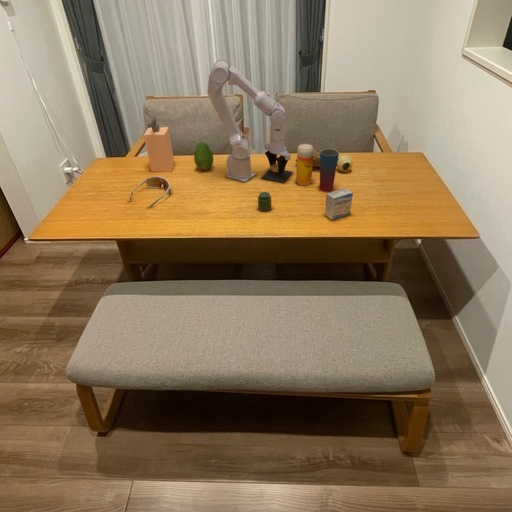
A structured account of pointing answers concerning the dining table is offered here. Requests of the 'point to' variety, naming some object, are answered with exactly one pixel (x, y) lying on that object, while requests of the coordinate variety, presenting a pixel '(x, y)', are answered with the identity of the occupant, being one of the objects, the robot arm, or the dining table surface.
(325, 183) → the cup
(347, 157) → the cream rounded piece
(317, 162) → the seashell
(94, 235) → the dining table surface
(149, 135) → the soap dispenser
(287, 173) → the coaster
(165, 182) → the sunglasses
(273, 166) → the lid
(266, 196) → the jar
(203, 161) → the fruit
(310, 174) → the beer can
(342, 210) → the medicine box
